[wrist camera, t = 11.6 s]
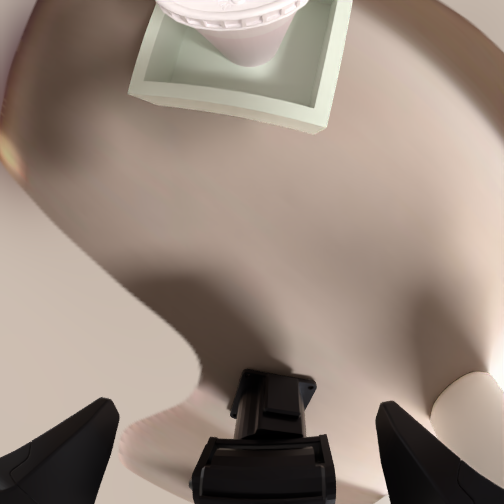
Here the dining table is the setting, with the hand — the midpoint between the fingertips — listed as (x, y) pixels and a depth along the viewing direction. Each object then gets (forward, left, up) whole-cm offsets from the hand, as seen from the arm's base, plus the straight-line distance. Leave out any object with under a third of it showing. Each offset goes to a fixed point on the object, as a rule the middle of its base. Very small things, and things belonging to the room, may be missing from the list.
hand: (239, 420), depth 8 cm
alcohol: (-10, -26, -13) cm, 31 cm away
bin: (+15, +4, -13) cm, 20 cm away
